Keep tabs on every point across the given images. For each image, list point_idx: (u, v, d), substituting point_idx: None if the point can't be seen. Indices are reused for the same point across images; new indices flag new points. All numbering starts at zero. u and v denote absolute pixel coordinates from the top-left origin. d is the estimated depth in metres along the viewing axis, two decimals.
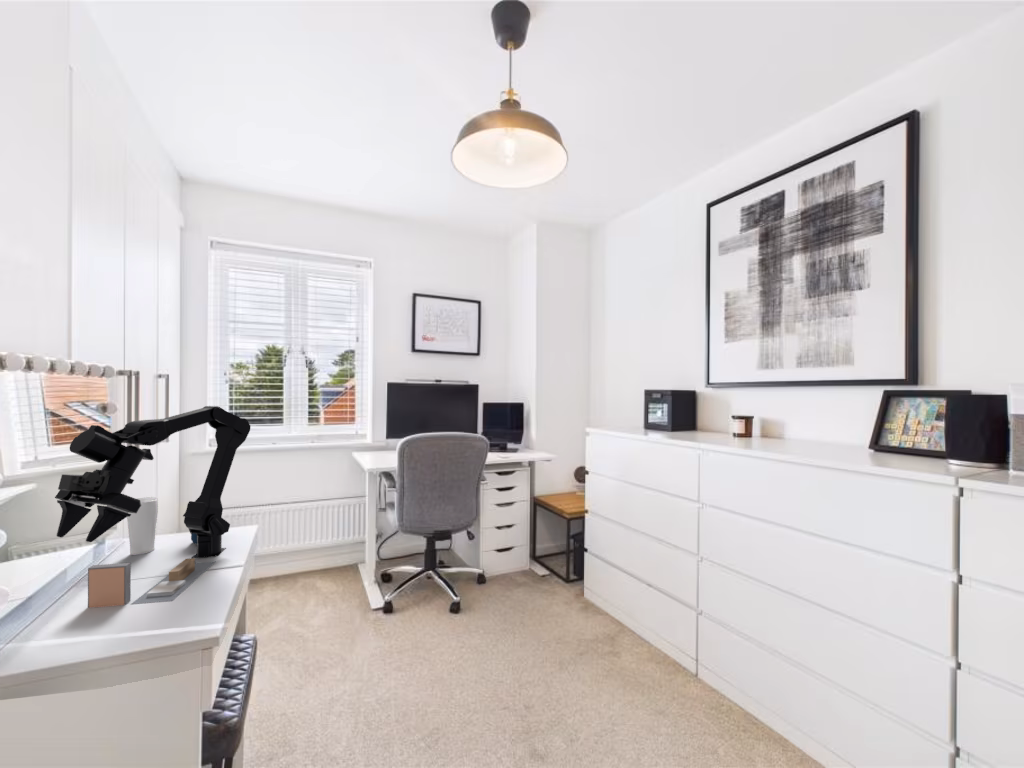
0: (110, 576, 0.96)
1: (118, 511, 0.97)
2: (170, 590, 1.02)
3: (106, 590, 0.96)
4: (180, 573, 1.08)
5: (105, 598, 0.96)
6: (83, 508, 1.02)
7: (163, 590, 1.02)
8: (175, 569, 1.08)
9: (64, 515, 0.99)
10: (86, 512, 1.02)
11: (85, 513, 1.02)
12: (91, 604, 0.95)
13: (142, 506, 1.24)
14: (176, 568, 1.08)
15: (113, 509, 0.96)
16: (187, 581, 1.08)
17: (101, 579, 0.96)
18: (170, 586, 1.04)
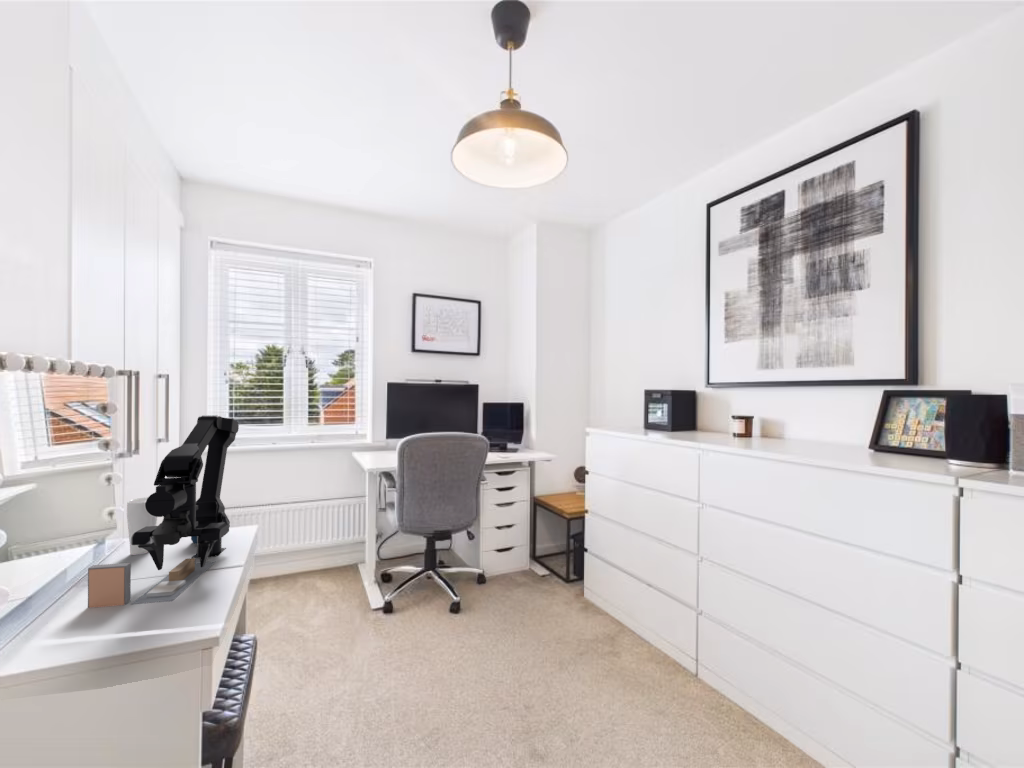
0: (110, 576, 0.96)
1: None
2: (170, 590, 1.02)
3: (106, 590, 0.96)
4: (180, 573, 1.08)
5: (105, 598, 0.96)
6: None
7: (163, 590, 1.02)
8: (175, 569, 1.08)
9: (153, 554, 1.08)
10: None
11: None
12: (91, 604, 0.95)
13: (142, 506, 1.24)
14: (176, 568, 1.08)
15: (215, 540, 1.10)
16: (187, 581, 1.08)
17: (101, 579, 0.96)
18: (170, 586, 1.04)
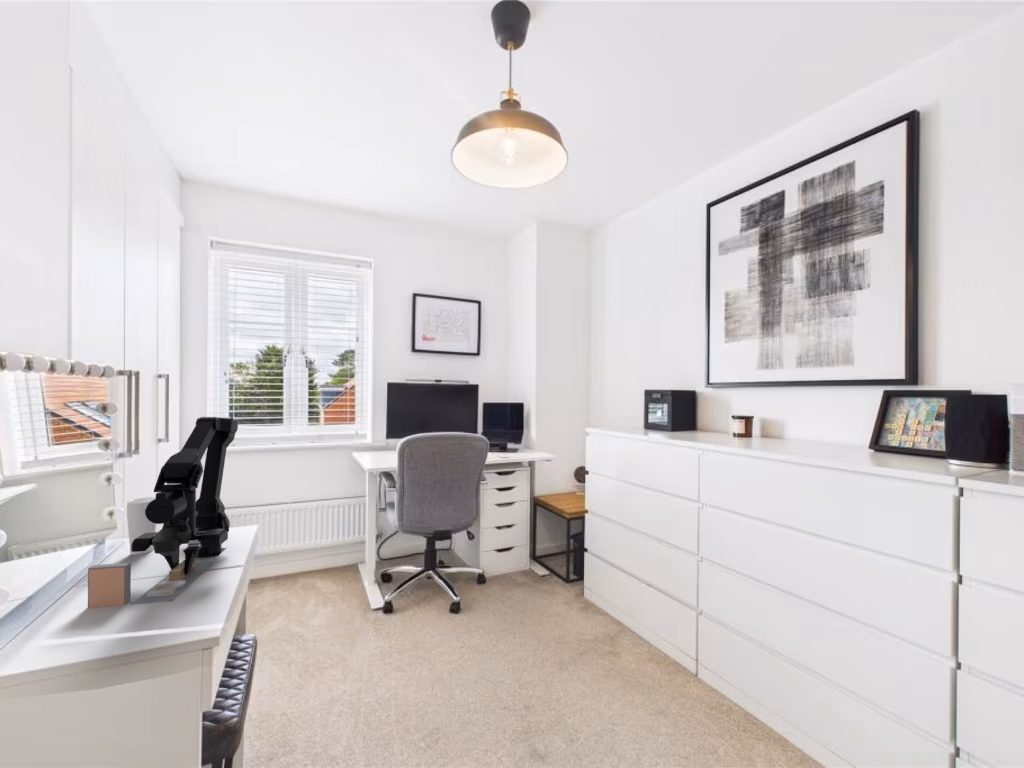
0: (110, 576, 0.96)
1: (202, 546, 1.11)
2: (170, 590, 1.02)
3: (106, 590, 0.96)
4: (180, 573, 1.08)
5: (105, 598, 0.96)
6: None
7: (163, 590, 1.02)
8: (175, 569, 1.08)
9: (169, 559, 1.08)
10: (178, 547, 1.12)
11: (178, 548, 1.12)
12: (91, 604, 0.95)
13: (142, 506, 1.24)
14: (176, 568, 1.08)
15: (199, 547, 1.10)
16: (187, 581, 1.08)
17: (101, 579, 0.96)
18: (170, 586, 1.04)
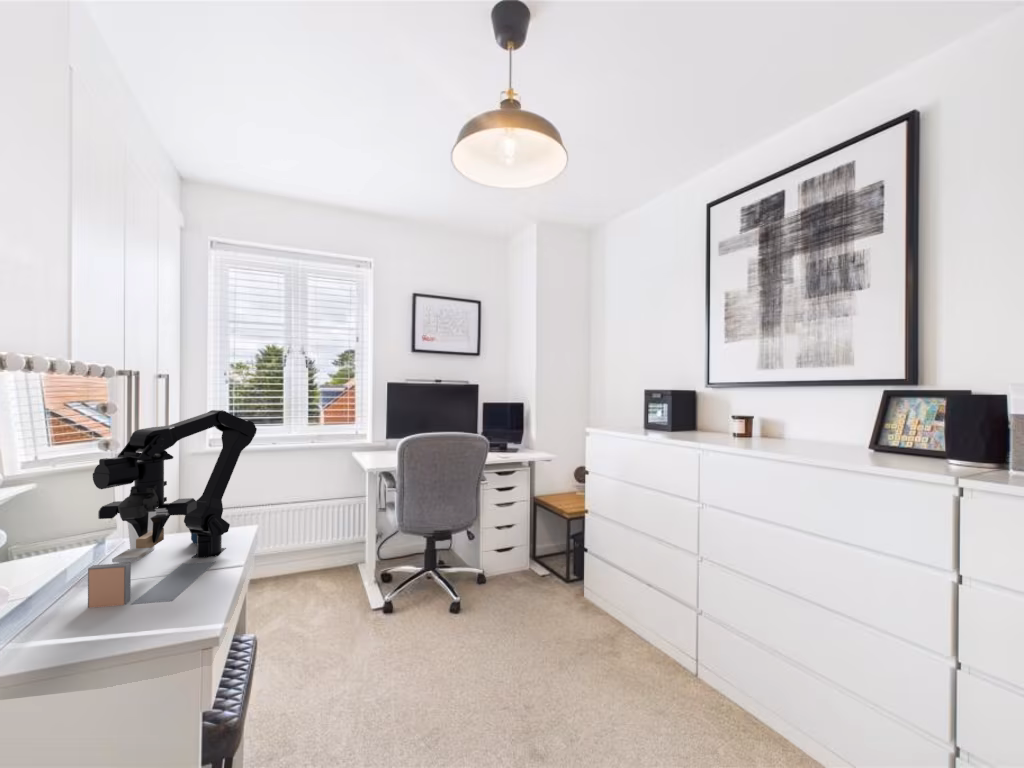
0: (110, 576, 0.96)
1: (170, 514, 1.12)
2: (136, 556, 1.03)
3: (106, 590, 0.96)
4: (147, 541, 1.09)
5: (105, 598, 0.96)
6: (144, 514, 1.12)
7: (128, 556, 1.03)
8: (142, 537, 1.09)
9: (137, 527, 1.10)
10: (147, 516, 1.13)
11: (147, 517, 1.13)
12: (91, 604, 0.95)
13: None
14: (143, 536, 1.09)
15: (167, 516, 1.11)
16: (187, 581, 1.08)
17: (101, 579, 0.96)
18: (136, 552, 1.05)
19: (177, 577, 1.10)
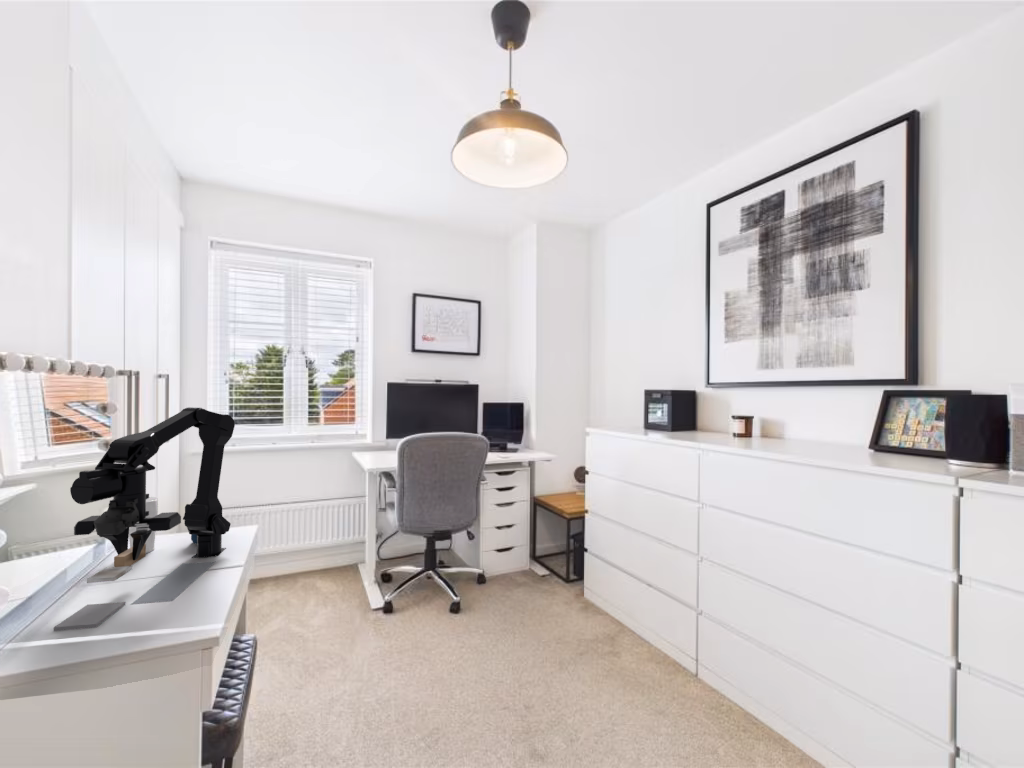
0: None
1: (151, 530, 1.04)
2: (113, 576, 0.95)
3: None
4: (127, 558, 1.01)
5: None
6: (124, 530, 1.05)
7: (105, 576, 0.95)
8: (121, 554, 1.01)
9: (116, 544, 1.02)
10: (128, 531, 1.06)
11: (127, 532, 1.05)
12: None
13: None
14: (123, 553, 1.02)
15: (148, 531, 1.03)
16: (187, 581, 1.08)
17: None
18: (114, 572, 0.97)
19: (177, 577, 1.10)
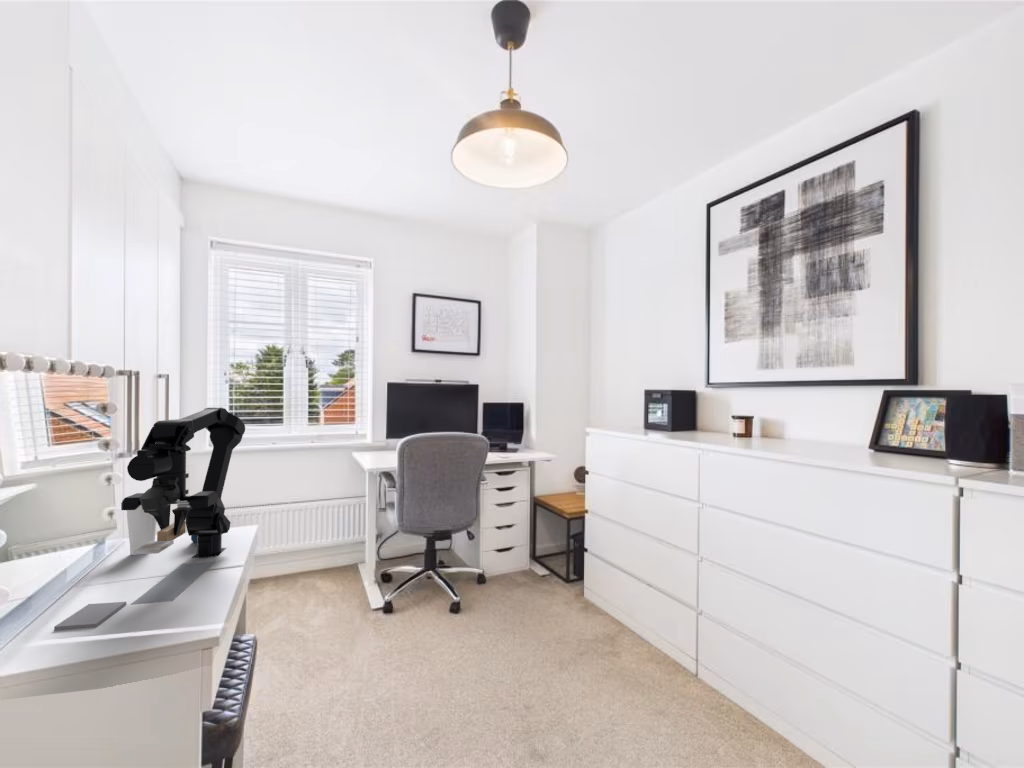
0: None
1: (191, 507, 1.11)
2: (156, 548, 1.01)
3: None
4: (169, 533, 1.07)
5: None
6: (166, 507, 1.11)
7: (149, 548, 1.01)
8: (164, 529, 1.08)
9: (159, 519, 1.08)
10: (169, 508, 1.12)
11: (169, 509, 1.12)
12: None
13: None
14: (165, 529, 1.08)
15: (188, 508, 1.09)
16: (187, 581, 1.08)
17: None
18: (157, 545, 1.03)
19: (177, 577, 1.10)
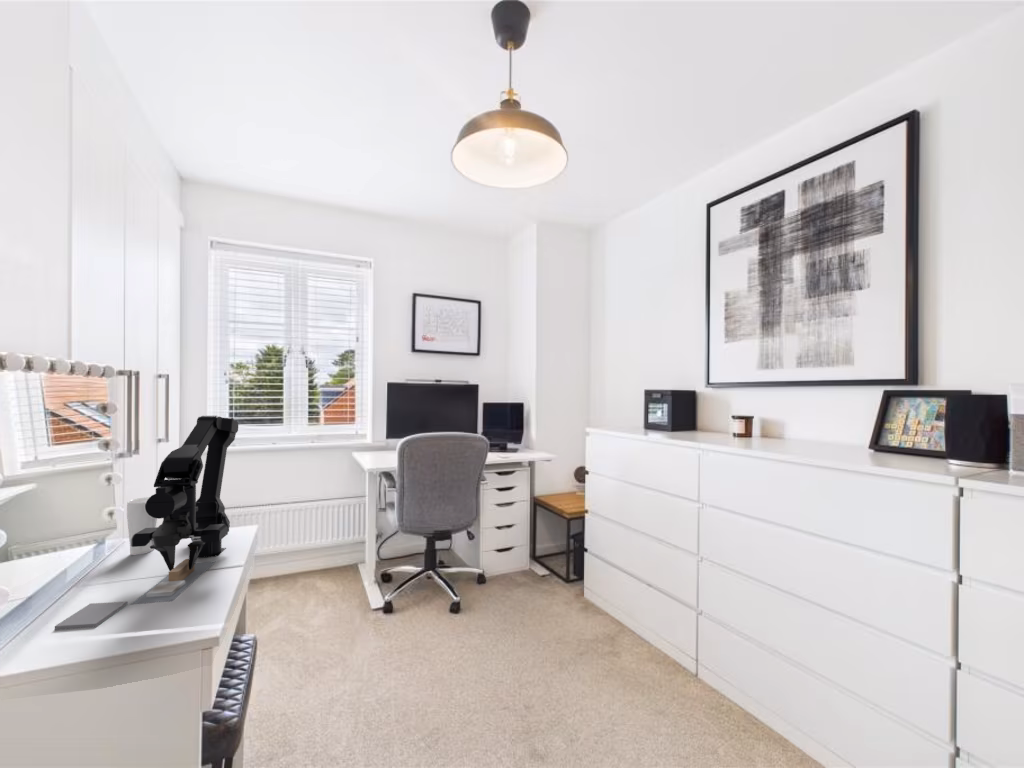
0: None
1: None
2: (170, 590, 1.02)
3: None
4: (180, 573, 1.08)
5: None
6: None
7: (162, 590, 1.01)
8: (175, 569, 1.08)
9: (165, 555, 1.08)
10: None
11: None
12: None
13: (142, 506, 1.24)
14: (176, 568, 1.08)
15: (204, 542, 1.10)
16: (187, 581, 1.08)
17: None
18: (170, 586, 1.03)
19: None
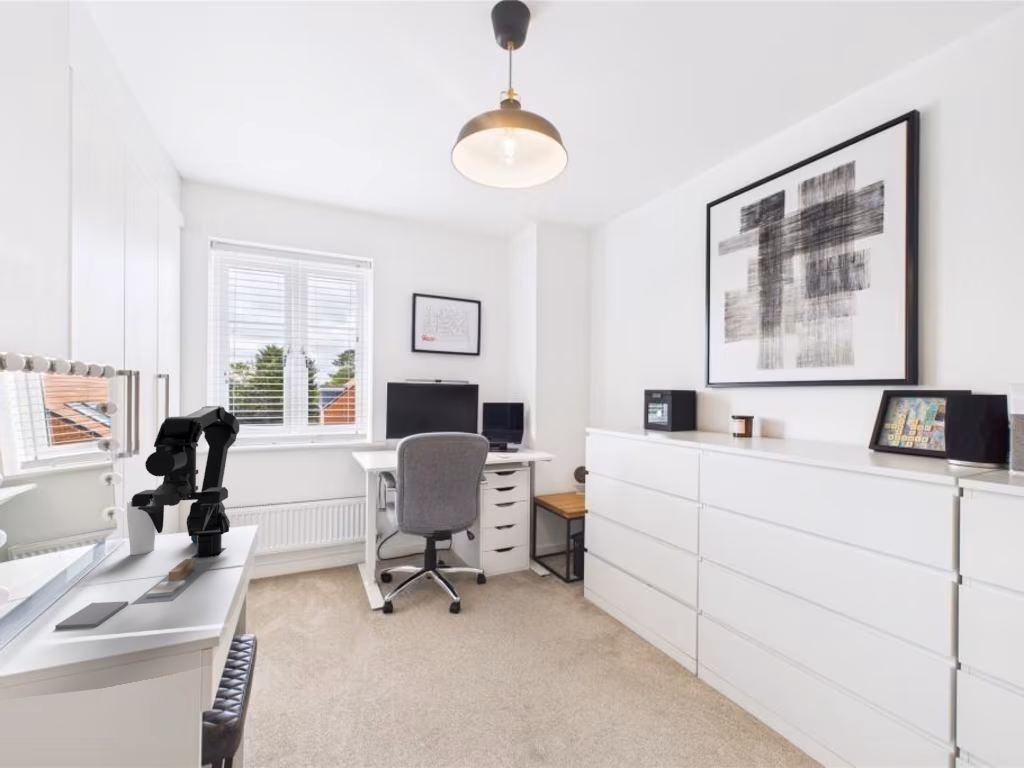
0: None
1: (217, 502, 1.11)
2: (170, 590, 1.02)
3: None
4: (180, 573, 1.08)
5: None
6: None
7: (162, 590, 1.01)
8: (175, 569, 1.08)
9: (153, 516, 1.08)
10: (163, 505, 1.11)
11: (163, 506, 1.11)
12: None
13: None
14: (176, 568, 1.08)
15: (215, 503, 1.10)
16: (187, 581, 1.08)
17: None
18: (170, 586, 1.03)
19: None
